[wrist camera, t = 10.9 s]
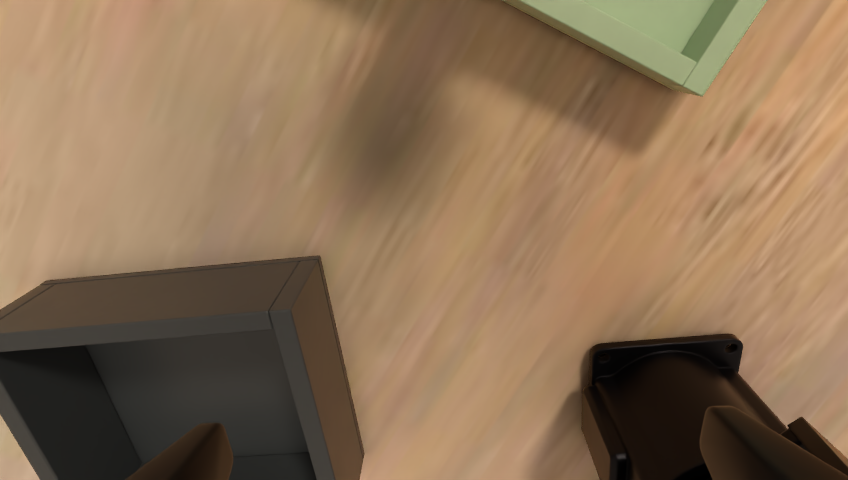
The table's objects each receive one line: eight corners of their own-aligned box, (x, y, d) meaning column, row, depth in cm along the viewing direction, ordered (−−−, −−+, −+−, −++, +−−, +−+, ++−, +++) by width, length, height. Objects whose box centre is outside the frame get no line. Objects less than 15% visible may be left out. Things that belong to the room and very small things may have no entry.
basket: (320, 254, 20) (290, 309, 16) (364, 453, 25) (349, 535, 21) (46, 280, 21) (-48, 338, 17) (137, 467, 25) (80, 548, 21)
